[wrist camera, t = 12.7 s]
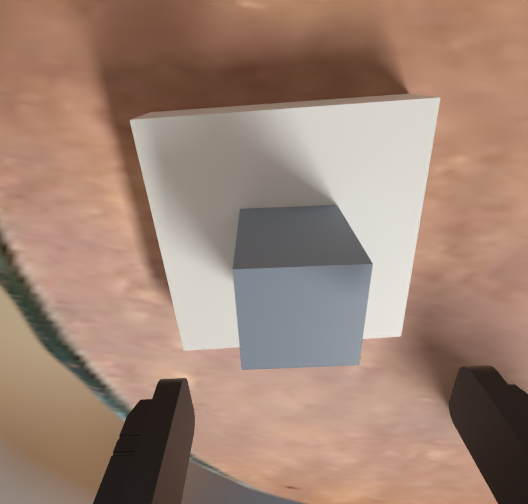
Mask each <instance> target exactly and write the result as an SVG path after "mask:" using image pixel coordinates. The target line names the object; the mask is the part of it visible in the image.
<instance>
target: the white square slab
mask: <svg viewBox="0 0 528 504" xmlns="http://www.w3.org/2000/svg"><path fill="white" fill-rule="evenodd" d="M439 103H440V97H433V96H425V95H417V94H396V95H382V96H368V97H354V98H340V99H326V100H313V101H299V102H285V103H271V104H257V105H243V106H230V107H216V108H202V109H188V110H174V111H160V112H150V113H147V114H144V115H142V116H139V117H136V118H133V119H131V120H130V124H131V128H132V133H133V137H134V141H135V145H136V149H137V154H138V158H139V162H140V166H141V171H142V175H143V179H144V183H145V188H146V192H147V196H148V200H149V204H150V209H151V213H152V217H153V221H154V226H155V230H156V234H157V238H158V243H159V247H160V251H161V255H162V260H163V264H164V268H165V272H166V276H167V281H168V285H169V289H170V293H171V298H172V302H173V306H174V310H175V315H176V319H177V323H178V327H179V331H180V336H181V340H182V344H183V348H184V351H188V350H203V349H218V348H233V347H240V345H239V335H238V324H237V313H236V302H235V291H234V281H233V270H232V269H233V261H234V253H235V245H236V237H237V229H238V221H239V213H240V209H248V208H273V207H299V206H324V205H338V207H339V209H340V210H341V212H342V214H343V215H344V217H345V218H346V220H347V222H348V223H349V225H350V227H351V228H352V230H353V232H354V233H355V235H356V237H357V238H358V240H359V242H360V243H361V245H362V247H363V248H364V250H365V252H366V253H367V255H368V257H369V258H370V260H371V262H372V263H373V267H372V274H371V281H370V288H369V296H368V303H367V310H366V318H365V325H364V332H363V339H369V338H384V337H399V336H401V333H402V327H403V321H404V315H405V309H406V303H407V297H408V291H409V285H410V279H411V273H412V267H413V261H414V255H415V249H416V242H417V236H418V230H419V224H420V218H421V212H422V206H423V200H424V194H425V188H426V182H427V176H428V170H429V164H430V158H431V152H432V146H433V140H434V134H435V128H436V121H437V115H438V109H439Z"/></svg>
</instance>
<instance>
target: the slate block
mask: <svg viewBox="0 0 528 504" xmlns="http://www.w3.org/2000/svg"><path fill="white" fill-rule="evenodd" d="M372 267H373V263H372V262H371V260H370V258H369V257H368V255H367V253H366V252H365V250H364V248H363V247H362V245H361V243H360V242H359V240H358V238H357V237H356V235H355V233H354V232H353V230H352V228H351V227H350V225H349V223H348V222H347V220H346V218H345V217H344V215H343V214H342V212H341V210H340V209H339V207H338V205H324V206H299V207H273V208H248V209H240V213H239V221H238V229H237V237H236V245H235V253H234V261H233V269H232V270H233V281H234V291H235V302H236V313H237V324H238V335H239V345H240V356H241V367H242V370H250V369H275V368H300V367H326V366H351V365H359V361H360V354H361V347H362V340H363V332H364V325H365V318H366V310H367V303H368V296H369V288H370V281H371V274H372Z"/></svg>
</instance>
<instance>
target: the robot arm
mask: <svg viewBox="0 0 528 504" xmlns="http://www.w3.org/2000/svg"><path fill="white" fill-rule="evenodd" d="M449 410H450V415H451V418H452V421H453V423H454V425H455V427H456V429H457V431H458V433H459V434H460V436H461V438H462V440H463V441H464V443H465V445H466V447H467V449H468V450H469V452H470V454H471V456H472V458H473V459H474V461H475V463H476V465H477V467H478V468H479V470H480V472H481V474H482V476H483V477H484V479H485V481H486V483H487V485H488V486H489V488H490V490H491V492H492V493H493V495H494V497H495V499H496V501H497V502H498V504H528V394H527V393H525V392H524V391H523V390H521V389H520V388H519V387H517V386H516V385H515V384H513V385H508V384H507V383H506V381H505V380H504V379H503V378H502V376H501V375H500V374H499V373H498V371H497V370H496V369H494V368H493V367H491V366H470V367H461V368H460V369H459V372H458V375H457V378H456V381H455V385H454V388H453V391H452V394H451V398H450V401H449ZM194 426H195V415H194V409H193V404H192V399H191V395H190V390H189V386H188V381H187V379H186V378H178V379H161V380H159V382H158V384H157V386H156V390H155V393H154V396H153V399H146V400H140V401H139V402H138V403H137V405H136V406H135V407H134V408H133V410H132V411H131V412H130V413H129V415H128V416H127V418H126V420H125V423H124V426H123V428H122V431H121V433H120V438H119V440H118V441H117V443H116V446H115V449H114V451H113V456H111V459H110V461H109V464H108V467H107V469H106V472H105V475H104V477H103V480H102V482H101V485H100V487H99V490H98V492H97V495H96V497H95V500H94V503H93V504H181V500H182V495H183V489H184V483H185V479H186V473H187V467H188V462H189V457H190V451H191V446H192V441H193V435H194Z"/></svg>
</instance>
